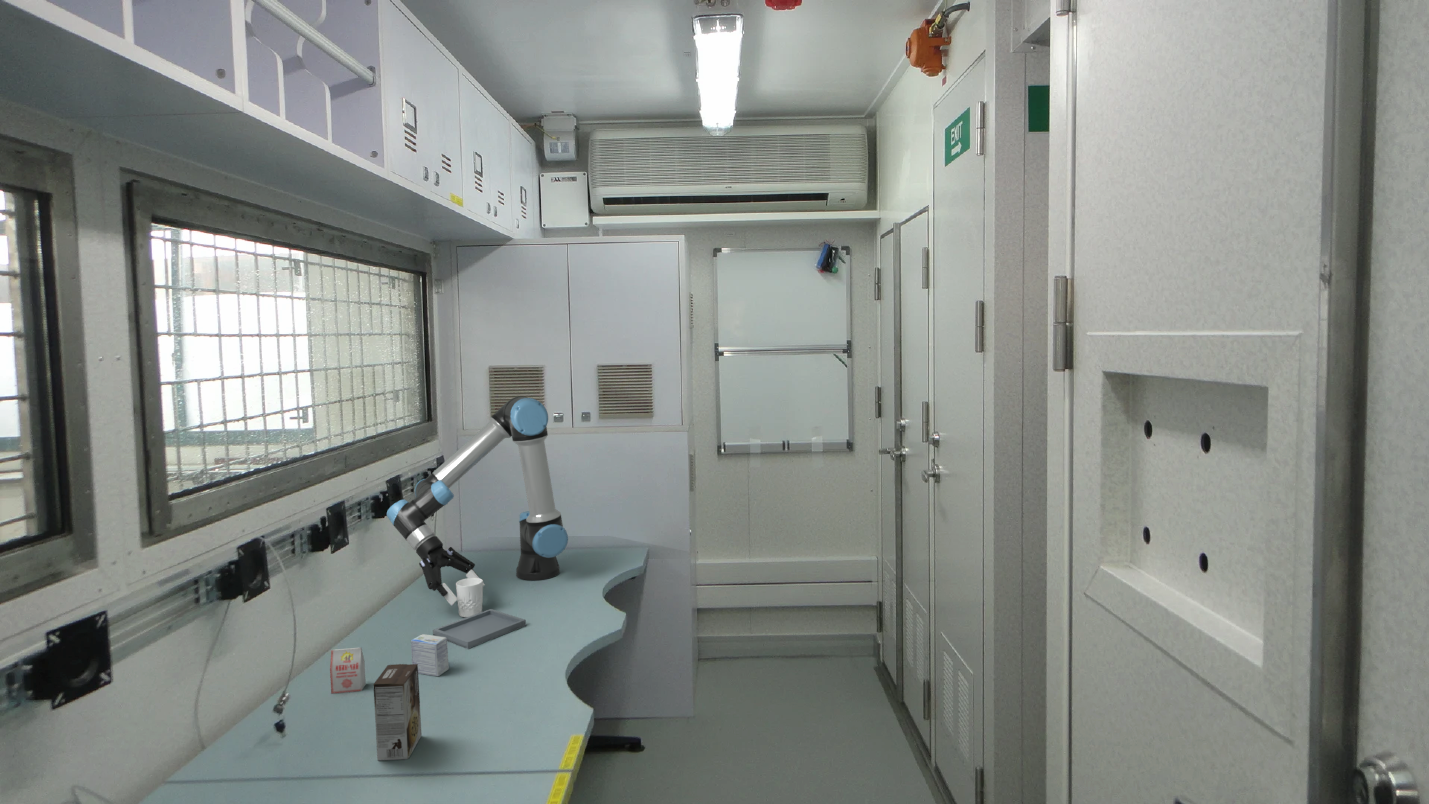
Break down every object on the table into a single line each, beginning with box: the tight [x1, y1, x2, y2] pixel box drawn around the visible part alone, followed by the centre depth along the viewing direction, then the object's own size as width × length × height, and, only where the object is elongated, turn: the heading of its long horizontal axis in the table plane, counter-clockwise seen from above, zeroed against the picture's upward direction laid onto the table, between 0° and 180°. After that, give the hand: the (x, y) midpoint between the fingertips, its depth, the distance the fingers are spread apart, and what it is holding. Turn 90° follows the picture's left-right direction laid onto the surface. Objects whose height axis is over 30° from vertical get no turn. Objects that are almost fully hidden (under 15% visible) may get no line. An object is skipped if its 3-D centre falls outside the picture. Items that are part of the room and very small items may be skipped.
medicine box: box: [410, 633, 450, 677], centre depth 191 cm, size 8×4×9 cm, turn 71°
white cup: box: [455, 577, 484, 618], centre depth 232 cm, size 8×8×10 cm
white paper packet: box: [329, 647, 367, 694], centre depth 182 cm, size 4×7×10 cm, turn 100°
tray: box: [432, 608, 527, 650], centre depth 218 cm, size 20×16×2 cm
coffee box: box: [372, 663, 422, 761], centre depth 155 cm, size 9×6×16 cm
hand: (468, 595), depth 231 cm, fingers open, 13 cm apart
